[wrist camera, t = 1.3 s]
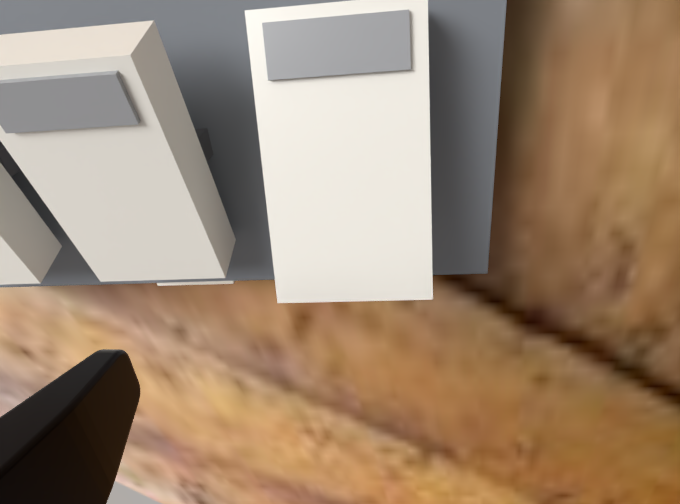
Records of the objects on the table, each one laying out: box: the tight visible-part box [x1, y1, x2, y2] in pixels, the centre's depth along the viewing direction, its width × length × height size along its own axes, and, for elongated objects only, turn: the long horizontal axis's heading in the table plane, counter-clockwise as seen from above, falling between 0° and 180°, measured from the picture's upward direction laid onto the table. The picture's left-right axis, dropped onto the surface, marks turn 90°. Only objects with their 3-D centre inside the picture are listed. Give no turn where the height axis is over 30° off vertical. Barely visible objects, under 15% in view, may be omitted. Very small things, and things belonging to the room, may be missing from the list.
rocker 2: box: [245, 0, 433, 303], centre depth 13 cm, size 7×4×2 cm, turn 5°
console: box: [0, 0, 507, 287], centre depth 16 cm, size 10×20×4 cm, turn 95°
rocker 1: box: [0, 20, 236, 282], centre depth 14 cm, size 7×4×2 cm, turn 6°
